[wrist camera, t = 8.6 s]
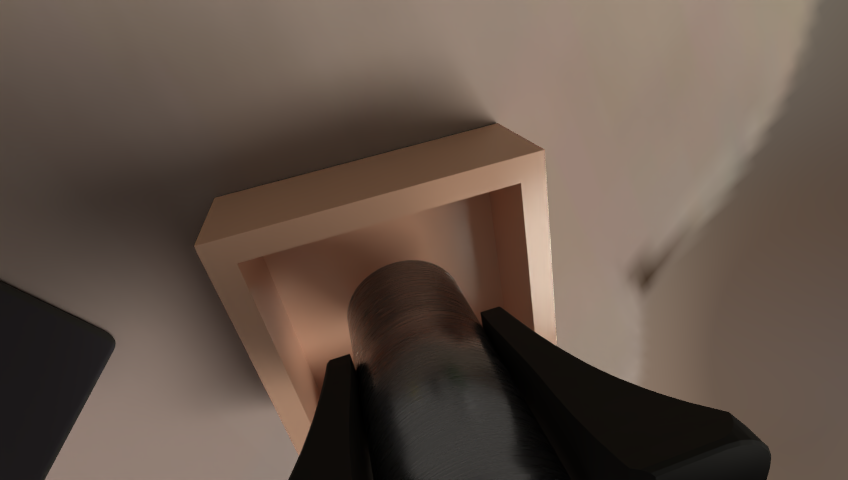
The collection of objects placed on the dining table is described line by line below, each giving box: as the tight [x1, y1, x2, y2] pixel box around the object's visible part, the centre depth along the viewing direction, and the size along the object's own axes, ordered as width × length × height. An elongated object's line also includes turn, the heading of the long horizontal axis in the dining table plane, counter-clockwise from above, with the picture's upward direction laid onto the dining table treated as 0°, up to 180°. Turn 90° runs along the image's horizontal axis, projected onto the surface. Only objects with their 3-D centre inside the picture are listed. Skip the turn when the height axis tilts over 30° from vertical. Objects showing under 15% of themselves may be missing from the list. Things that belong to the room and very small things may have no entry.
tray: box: [194, 123, 557, 455], centre depth 16 cm, size 10×10×4 cm
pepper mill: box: [347, 260, 572, 480], centre depth 12 cm, size 4×4×9 cm
